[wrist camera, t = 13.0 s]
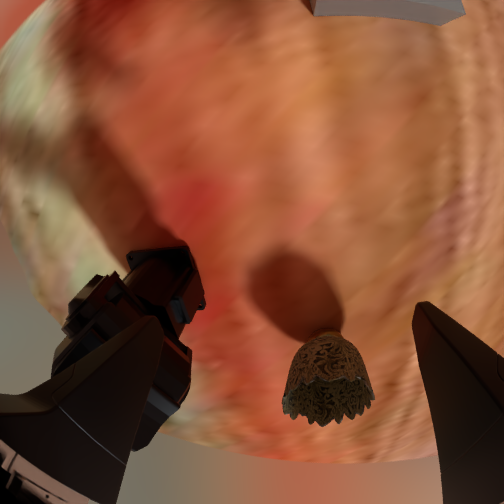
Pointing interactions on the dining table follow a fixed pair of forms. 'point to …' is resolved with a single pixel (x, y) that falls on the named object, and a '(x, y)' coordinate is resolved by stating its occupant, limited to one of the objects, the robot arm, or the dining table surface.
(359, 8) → the socket block
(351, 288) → the dining table surface
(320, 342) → the cup
